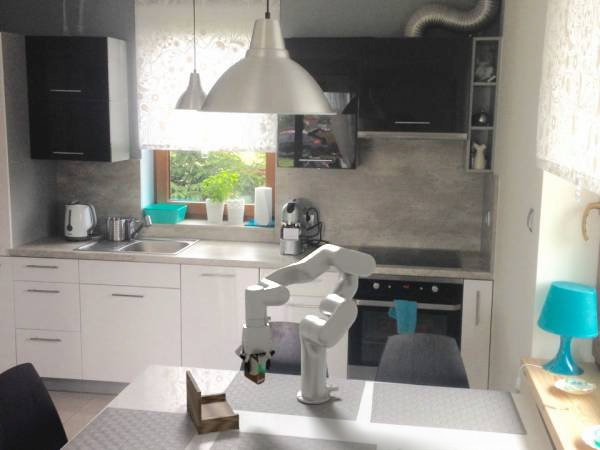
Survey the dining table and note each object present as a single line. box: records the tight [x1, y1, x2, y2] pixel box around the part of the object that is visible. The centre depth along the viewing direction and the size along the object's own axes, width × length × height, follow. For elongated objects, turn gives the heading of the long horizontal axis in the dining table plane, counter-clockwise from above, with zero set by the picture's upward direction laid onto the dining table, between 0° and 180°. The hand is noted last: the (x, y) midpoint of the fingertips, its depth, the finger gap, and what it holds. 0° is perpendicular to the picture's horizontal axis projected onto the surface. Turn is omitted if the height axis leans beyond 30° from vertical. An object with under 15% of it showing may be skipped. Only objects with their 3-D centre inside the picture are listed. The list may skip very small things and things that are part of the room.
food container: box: [241, 350, 268, 386], centre depth 251 cm, size 12×6×10 cm, turn 34°
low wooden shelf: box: [185, 370, 240, 436], centre depth 247 cm, size 14×20×15 cm
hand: (257, 369), depth 252 cm, fingers closed on food container, 6 cm apart
